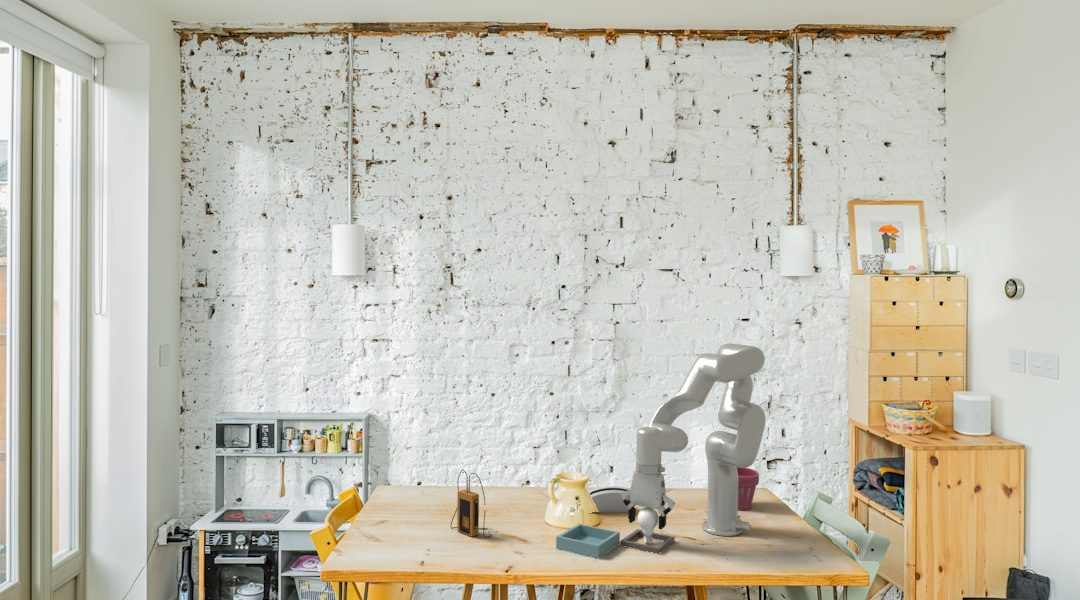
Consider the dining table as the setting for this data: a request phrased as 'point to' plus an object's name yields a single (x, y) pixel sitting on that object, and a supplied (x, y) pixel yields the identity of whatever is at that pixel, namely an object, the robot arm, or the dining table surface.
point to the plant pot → (746, 487)
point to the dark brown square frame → (627, 542)
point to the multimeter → (468, 511)
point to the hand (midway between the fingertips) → (646, 524)
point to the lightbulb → (648, 523)
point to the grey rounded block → (609, 499)
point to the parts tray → (588, 540)
